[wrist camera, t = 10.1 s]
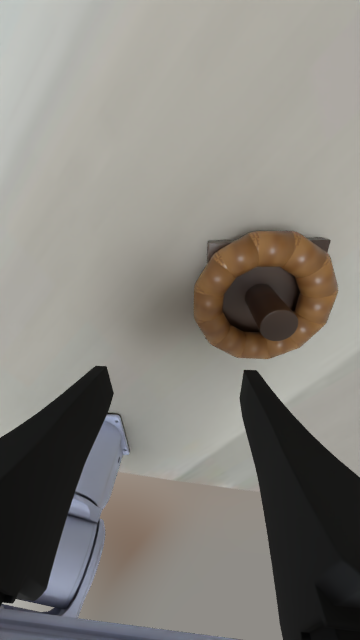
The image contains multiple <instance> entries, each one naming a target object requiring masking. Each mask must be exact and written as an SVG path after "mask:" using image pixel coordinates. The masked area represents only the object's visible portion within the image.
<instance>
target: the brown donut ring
mask: <svg viewBox="0 0 360 640" xmlns="http://www.w3.org/2000/svg"><path fill="white" fill-rule="evenodd" d="M256 267H281V268H282V269H284V270H285V271H287V272H288V273H290V274H291V275H293V276H295V279H296V282H297V285H298V288H299V291H300V294H299V298H298V301H297V305H296V308H295V310H294V311H293V313H294V314H295V315H296V316H297V318H298V327H297V330H296V331H295V333H294V334H293V335H292V336H290V337H289V338H287V339H285V340H281V341H271V340H268V339H266V338H264V337H263V336H262V334H261V333H260V332H243V331H241V330H240V329H238V328H236V327H234V326H232V325H230V324H229V322H228V320H227V319H226V317H225V315H224V313H223V311H222V310H223V299H224V294H225V292H226V291H227V290H228V288H229V287H230V285H231V284H232V283H233V281H234V280H235V279H236V277H238V276H240V275H242V274H244V273H246V272H248V271H250V270H252V269H254V268H256ZM337 293H338V285H337V281H336V277H335V273H334V270H333V266H332V262H331V259H330V256H329V255H328V253H327V252H326V251H324V250H323V249H321V248H320V247H318V246H317V245H316V244H314V243H313V242H311V241H310V240H308V239H307V238H305V237H304V236H303V235H301V234H299V233H298V232H295V231H254V232H250V233H248V234H246V235H245V236H243V237H241V238H239V239H238V240H236V241H234V242H232V243H231V244H229V245H227V246H225V247H223V248H222V249H220V250H218V251H217V252H215V253H214V255H213V256H212V257H211V259H210V261H209V262H208V264H207V265H206V267H205V269H204V270H203V272H202V273H201V275H200V277H199V278H198V280H197V281H196V283H195V286H194V319H195V321H196V323H197V324H198V326H199V328H200V329H201V331H202V332H203V334H204V335H205V337H206V339H207V340H208V342H209V343H210V344H211V345H213V346H215V347H217V348H219V349H221V350H223V351H224V352H226V353H228V354H230V355H232V356H234V357H237V358H254V359H269V358H273V357H275V356H278V355H281V354H284V353H286V352H289V351H292V350H295V349H297V348H300V347H301V346H302V345H303V344H304V343H306V342H307V341H308V340H309V339H310V338H311V337H312V336H313V335H314V334H315V333H317V332H318V331H319V330H320V329H321V328H322V327H323V326H324V325H325V324H326V322H327V320H328V317H329V315H330V312H331V309H332V307H333V304H334V302H335V299H336V296H337Z"/></svg>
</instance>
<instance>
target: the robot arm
mask: <svg viewBox="0 0 360 640" xmlns="http://www.w3.org/2000/svg"><path fill="white" fill-rule="evenodd" d="M113 394H114V393H113V389H112V385H111V382H110V378H109V374H108V370H107V366H95V367H94V368H93V369H91V370H90V371H89V372H88V373H86V374H85V375H84V376H83V377H82V378H81V379H79V380H78V381H77V382H76V383H75V384H74V385H72V386H71V387H70V388H69V389H68V390H66V391H65V392H64V393H63V394H62V395H60V396H59V397H58V398H56V399H55V400H54V401H53V402H51V403H50V404H49V405H47V406H46V407H45V408H44V409H42V410H41V411H40V412H38V413H37V414H35V415H34V416H33V417H31V418H30V419H28V420H27V421H25V422H24V423H23V424H21V425H20V426H18V427H17V428H15V429H14V430H12V431H11V432H9V433H7V434H6V435H4V436H2V437H1V438H0V640H240V639H233V638H225V637H218V636H210V635H202V634H195V633H187V632H179V631H172V630H164V629H155V628H148V627H141V626H133V625H125V624H118V623H110V622H103V621H95V620H87V619H80V618H78V616H79V613H80V610H81V608H82V605H83V602H84V599H85V597H86V595H87V593H88V591H89V589H90V587H91V584H92V581H93V579H94V576H95V573H96V570H97V567H98V564H99V561H100V558H101V554H102V550H103V546H104V540H105V527H104V521H103V520H102V519H100V515H101V512H102V510H103V508H104V507H105V506H106V504H107V503H108V501H109V498H110V496H111V493H112V489H113V486H114V483H115V479H116V476H117V473H118V469H119V466H120V463H121V459H122V456H123V455H129V452H130V451H129V447H128V444H127V440H126V436H125V433H124V429H123V425H122V422H121V418H120V416H119V415H115V414H107V413H108V410H109V407H110V404H111V401H112V397H113ZM240 404H241V411H242V417H243V422H244V426H245V429H246V433H247V437H248V441H249V445H250V448H251V452H252V456H253V460H254V463H255V467H256V472H257V476H258V481H259V487H260V493H261V498H262V504H263V510H264V516H265V522H266V528H267V534H268V541H269V548H270V555H271V561H272V567H273V575H274V582H275V590H276V597H277V604H278V612H279V619H280V626H281V631H282V636H283V640H360V477H358V476H357V475H356V474H355V473H354V472H353V471H351V470H350V469H349V468H348V467H347V466H345V465H344V464H343V463H342V462H341V461H340V460H338V459H337V458H336V457H335V456H334V455H333V454H332V453H330V452H329V451H328V450H327V449H326V448H325V447H324V446H323V445H322V444H321V443H320V442H319V441H318V440H317V439H316V438H315V437H313V436H312V435H311V434H310V433H309V432H308V430H307V429H306V428H305V427H304V426H303V425H302V424H301V423H300V422H299V421H298V420H297V419H296V418H295V417H294V416H293V415H292V413H291V412H290V411H289V410H288V409H287V408H286V407H285V405H284V404H283V403H282V402H281V401H280V399H279V398H278V397H277V396H276V395H275V393H274V392H273V391H272V390H271V388H270V387H269V386H268V385H267V383H266V382H265V381H264V379H263V378H262V377H261V375H260V374H259V373H258V372H257V371H256V370H244V374H243V380H242V386H241V393H240ZM15 599H19V600H24V601H28V602H33V603H37V604H42V605H46V606H51V607H55V608H53V609H52V610H50V611H48V612H37V611H33V610H28V609H23V608H18V607H13V606H9V605H4V604H2V602H4V603H13V602H14V601H15Z"/></svg>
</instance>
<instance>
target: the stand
mask: <svg viewBox="0 0 360 640" xmlns="http://www.w3.org/2000/svg"><path fill="white" fill-rule="evenodd" d="M307 239H308V240H310V241H311V242H313V243H314V244H316V245H317V246H318V247H320V248H321V249H323V250H324V251H326V252H327V251H328V247H329V244H330V240H329V239H325V238H307ZM234 241H236V240H218V241H208V247H207V264H208V262H209V261H210V259H211V257H212V256H213V255H214V253H215V252H217V251H218V250H220V249H222V248H223V247H225V246H227V245H229V244H231V243H232V242H234ZM299 294H300V291H299V288H298V285H297V282H296V279H295V276H293V275H291V274H290V273H288V272H287V271H285V270H284V269H282V268H281V267H256V268H254V269H252V270H250V271H248V272H246V273H244V274H242V275H240V276H238V277H236V279H235V280H234V281H233V283H232V284H231V285H230V287H229V288H228V290H227V291H226V292H225V294H224V299H223V310H222V311H223V313H224V315H225V317H226V319H227V320H228V322H229V324H230V325H232V326H234V327H236V328H238V329H240V330H241V331H243V332H260V333H261V334H262V336H263V337H264V338H266V339H268V340H271V341H281V340H285V339H287V338H289V337H290V336H292V335H293V334H294V333H295V331H296V330H297V327H298V318H297V316H296V315H295V314H294V313H293V311H294V310H295V308H296V305H297V301H298V298H299ZM205 338H206V337H205Z"/></svg>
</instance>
